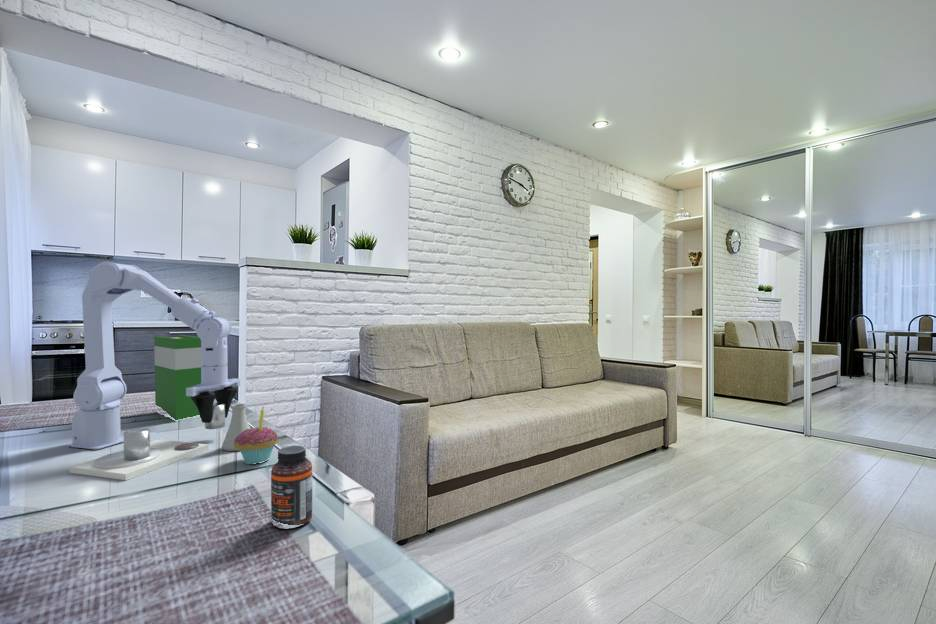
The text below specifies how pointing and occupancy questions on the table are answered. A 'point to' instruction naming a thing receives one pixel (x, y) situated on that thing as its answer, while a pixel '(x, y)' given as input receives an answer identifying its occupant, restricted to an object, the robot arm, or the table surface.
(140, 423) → the table surface
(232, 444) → the flask
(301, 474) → the supplement bottle
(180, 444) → the scale
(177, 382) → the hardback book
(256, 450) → the cupcake
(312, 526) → the table surface
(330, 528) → the table surface
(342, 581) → the table surface
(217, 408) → the cylinder
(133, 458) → the cylinder
